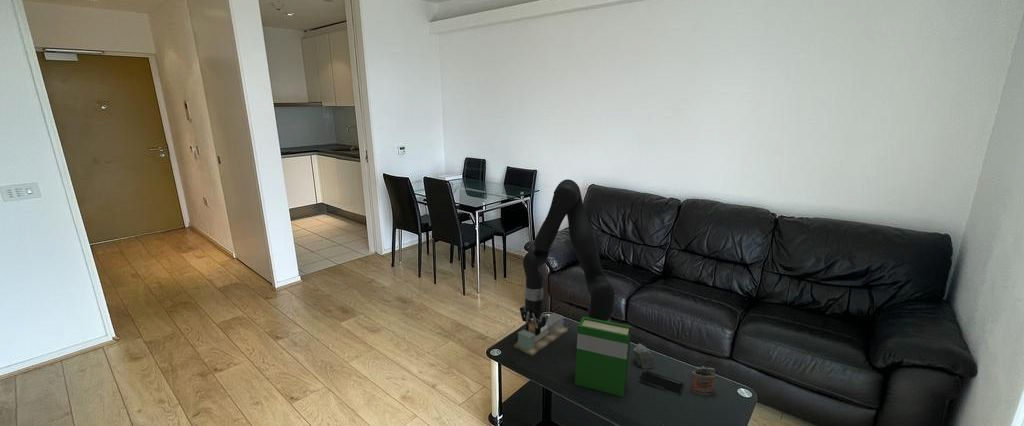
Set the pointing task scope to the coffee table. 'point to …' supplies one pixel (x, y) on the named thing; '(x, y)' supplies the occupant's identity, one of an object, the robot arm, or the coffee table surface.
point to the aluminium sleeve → (555, 323)
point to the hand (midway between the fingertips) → (533, 332)
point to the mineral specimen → (643, 356)
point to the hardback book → (602, 355)
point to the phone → (661, 383)
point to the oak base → (543, 342)
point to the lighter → (703, 381)
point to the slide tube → (544, 331)
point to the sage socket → (526, 340)
